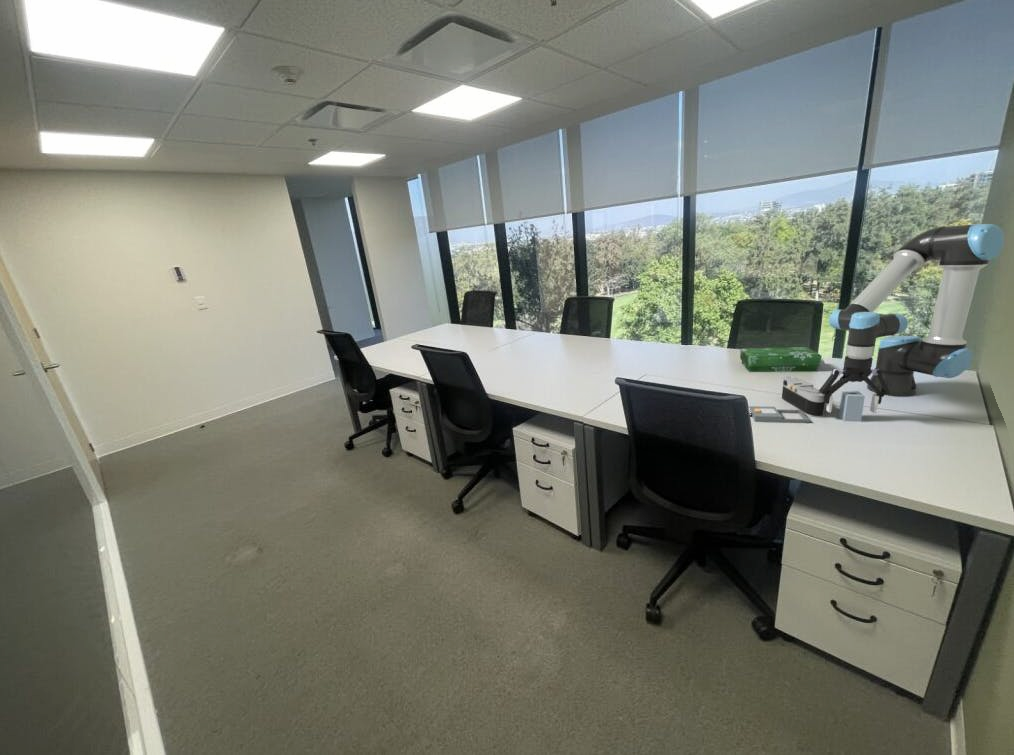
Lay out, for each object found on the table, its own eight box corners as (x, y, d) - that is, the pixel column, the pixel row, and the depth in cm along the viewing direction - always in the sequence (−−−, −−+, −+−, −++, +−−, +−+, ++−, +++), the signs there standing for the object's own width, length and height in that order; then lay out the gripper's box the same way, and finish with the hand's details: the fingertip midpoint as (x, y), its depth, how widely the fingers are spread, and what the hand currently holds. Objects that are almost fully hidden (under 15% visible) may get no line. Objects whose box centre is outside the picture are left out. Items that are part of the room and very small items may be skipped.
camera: (836, 416, 154) (839, 391, 151) (809, 418, 155) (812, 394, 152) (799, 396, 175) (802, 374, 172) (776, 398, 176) (778, 376, 173)
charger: (854, 416, 152) (858, 390, 149) (860, 421, 148) (865, 395, 145) (838, 415, 154) (841, 390, 151) (844, 421, 149) (848, 395, 146)
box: (747, 375, 206) (748, 356, 203) (738, 365, 222) (739, 347, 219) (820, 374, 196) (823, 354, 193) (806, 364, 213) (808, 345, 210)
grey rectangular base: (800, 412, 160) (801, 405, 159) (809, 423, 151) (810, 415, 150) (740, 411, 167) (740, 404, 166) (745, 421, 158) (746, 414, 157)
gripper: (896, 352, 143) (886, 408, 149) (813, 354, 151) (806, 407, 157) (909, 358, 136) (898, 416, 143) (821, 360, 144) (814, 414, 151)
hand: (850, 411), depth 150 cm, fingers open, 13 cm apart
